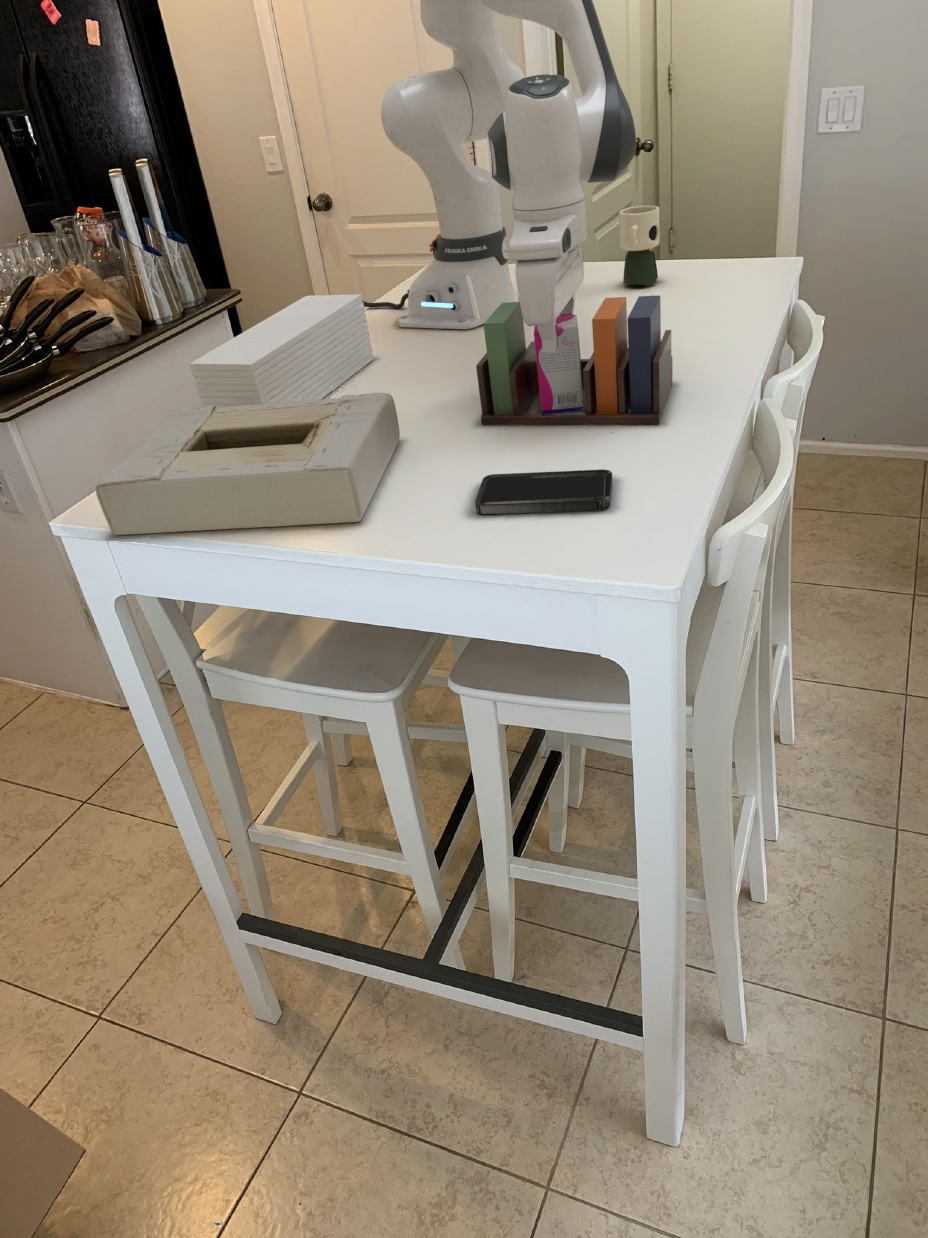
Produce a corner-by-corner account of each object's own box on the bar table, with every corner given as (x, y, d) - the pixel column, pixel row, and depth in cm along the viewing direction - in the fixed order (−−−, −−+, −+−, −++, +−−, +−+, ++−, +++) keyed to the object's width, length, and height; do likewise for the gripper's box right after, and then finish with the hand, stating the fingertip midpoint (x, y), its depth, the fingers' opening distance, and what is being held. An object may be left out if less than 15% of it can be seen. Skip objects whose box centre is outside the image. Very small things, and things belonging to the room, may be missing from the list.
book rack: (481, 425, 123) (474, 367, 119) (508, 387, 134) (502, 333, 129) (659, 424, 115) (658, 363, 111) (672, 384, 126) (672, 327, 121)
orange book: (597, 417, 120) (591, 319, 113) (609, 392, 127) (605, 297, 119) (618, 417, 119) (614, 318, 112) (629, 391, 126) (626, 296, 119)
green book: (494, 418, 124) (483, 323, 117) (511, 393, 131) (501, 302, 124) (514, 418, 123) (503, 322, 116) (530, 393, 130) (521, 301, 123)
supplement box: (583, 395, 127) (578, 312, 121) (583, 411, 122) (578, 326, 116) (541, 398, 128) (534, 317, 122) (540, 415, 123) (533, 331, 117)
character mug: (653, 292, 163) (652, 215, 156) (615, 293, 166) (612, 217, 159) (665, 275, 172) (665, 201, 164) (628, 276, 174) (626, 203, 167)
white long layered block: (320, 358, 157) (306, 295, 151) (374, 359, 153) (361, 294, 147) (211, 434, 134) (189, 363, 128) (270, 437, 129) (251, 364, 123)
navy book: (630, 417, 118) (627, 317, 111) (640, 391, 125) (638, 296, 118) (652, 417, 118) (650, 316, 110) (661, 391, 124) (660, 295, 117)
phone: (609, 500, 98) (473, 505, 101) (609, 509, 98) (474, 514, 102) (612, 468, 104) (484, 473, 107) (613, 477, 105) (485, 482, 108)
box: (402, 440, 123) (182, 455, 128) (393, 385, 118) (165, 403, 124) (367, 526, 104) (111, 539, 109) (354, 465, 100) (88, 482, 105)
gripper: (545, 211, 121) (553, 316, 129) (504, 249, 105) (516, 366, 113) (591, 207, 119) (597, 314, 127) (557, 245, 103) (566, 364, 111)
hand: (559, 339), depth 120 cm, fingers open, 8 cm apart
